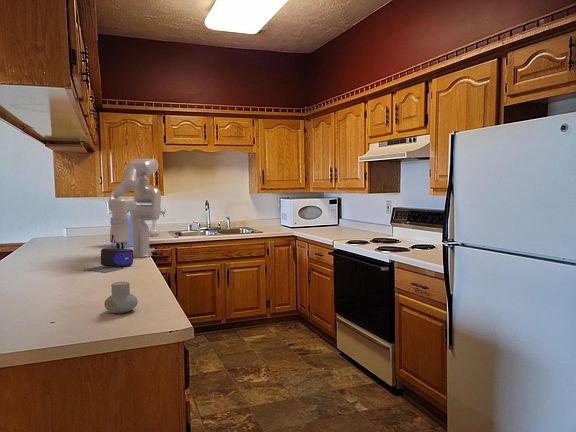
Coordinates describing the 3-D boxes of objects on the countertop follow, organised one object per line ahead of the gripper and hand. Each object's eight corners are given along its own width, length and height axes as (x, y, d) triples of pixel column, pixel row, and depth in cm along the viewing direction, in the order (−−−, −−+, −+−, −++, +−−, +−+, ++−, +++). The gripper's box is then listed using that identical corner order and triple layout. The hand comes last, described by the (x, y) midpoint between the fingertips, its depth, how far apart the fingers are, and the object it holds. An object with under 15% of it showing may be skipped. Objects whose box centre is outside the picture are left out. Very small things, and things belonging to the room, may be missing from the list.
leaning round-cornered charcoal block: (99, 267, 230) (100, 249, 229) (100, 264, 235) (101, 247, 233) (132, 267, 236) (133, 250, 234) (132, 265, 240) (133, 248, 239)
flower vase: (168, 236, 375) (167, 206, 373) (145, 237, 366) (144, 207, 364) (164, 234, 386) (163, 206, 384) (142, 236, 377) (141, 206, 376)
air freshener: (101, 311, 153) (100, 283, 152) (122, 306, 160) (121, 279, 159) (120, 316, 147) (119, 287, 146) (141, 310, 154) (140, 282, 153)
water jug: (127, 248, 305) (126, 208, 303) (106, 248, 308) (105, 208, 306) (138, 245, 321) (137, 206, 319) (118, 244, 323) (117, 206, 321)
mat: (101, 266, 238) (101, 265, 237) (122, 269, 230) (122, 268, 230) (84, 270, 228) (84, 269, 228) (105, 272, 220) (105, 272, 220)
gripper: (125, 220, 246) (126, 252, 247) (103, 222, 233) (104, 256, 234) (135, 220, 242) (136, 253, 244) (113, 223, 229) (114, 257, 230)
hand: (121, 255), depth 239 cm, fingers closed
